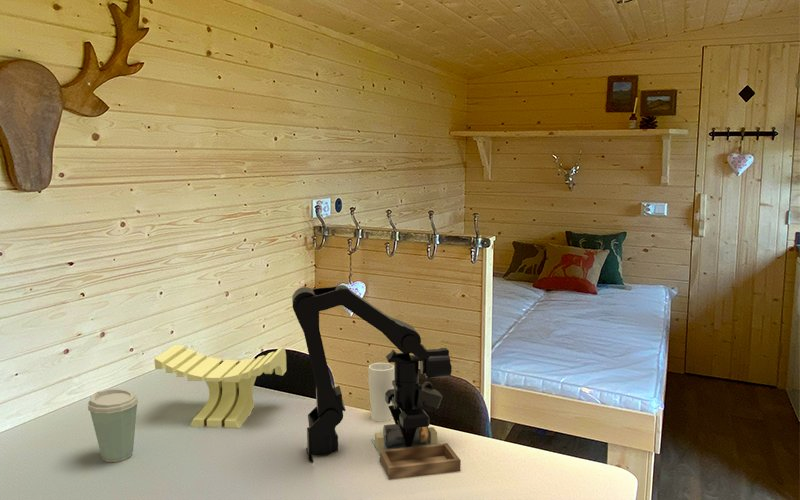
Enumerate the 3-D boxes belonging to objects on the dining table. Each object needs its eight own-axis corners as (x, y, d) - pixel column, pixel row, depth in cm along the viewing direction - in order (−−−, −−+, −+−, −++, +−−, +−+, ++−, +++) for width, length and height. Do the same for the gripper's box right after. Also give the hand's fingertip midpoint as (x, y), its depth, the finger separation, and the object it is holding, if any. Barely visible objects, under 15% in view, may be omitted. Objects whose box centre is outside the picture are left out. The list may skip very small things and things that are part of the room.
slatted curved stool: (287, 406, 183) (285, 344, 181) (271, 429, 167) (269, 361, 165) (182, 402, 185) (180, 341, 183) (157, 425, 170) (154, 358, 167)
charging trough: (389, 483, 139) (389, 468, 139) (379, 465, 148) (379, 450, 147) (460, 475, 143) (460, 460, 143) (447, 457, 152) (447, 443, 151)
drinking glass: (391, 427, 169) (391, 371, 167) (365, 425, 170) (365, 369, 168) (396, 417, 175) (396, 363, 173) (372, 415, 177) (372, 361, 175)
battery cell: (388, 450, 153) (388, 429, 152) (383, 441, 157) (383, 421, 157) (429, 446, 155) (429, 425, 154) (423, 437, 160) (423, 417, 159)
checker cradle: (379, 460, 150) (379, 443, 150) (371, 443, 159) (371, 428, 158) (441, 453, 154) (441, 436, 153) (430, 437, 163) (430, 422, 162)
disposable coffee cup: (151, 450, 154) (148, 389, 152) (118, 470, 144) (114, 405, 142) (115, 444, 158) (111, 384, 156) (80, 463, 148) (76, 399, 146)
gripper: (451, 389, 147) (450, 455, 149) (427, 364, 165) (427, 423, 167) (403, 393, 144) (403, 460, 146) (384, 367, 162) (384, 427, 164)
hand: (405, 441), depth 156 cm, fingers closed on battery cell, 5 cm apart
